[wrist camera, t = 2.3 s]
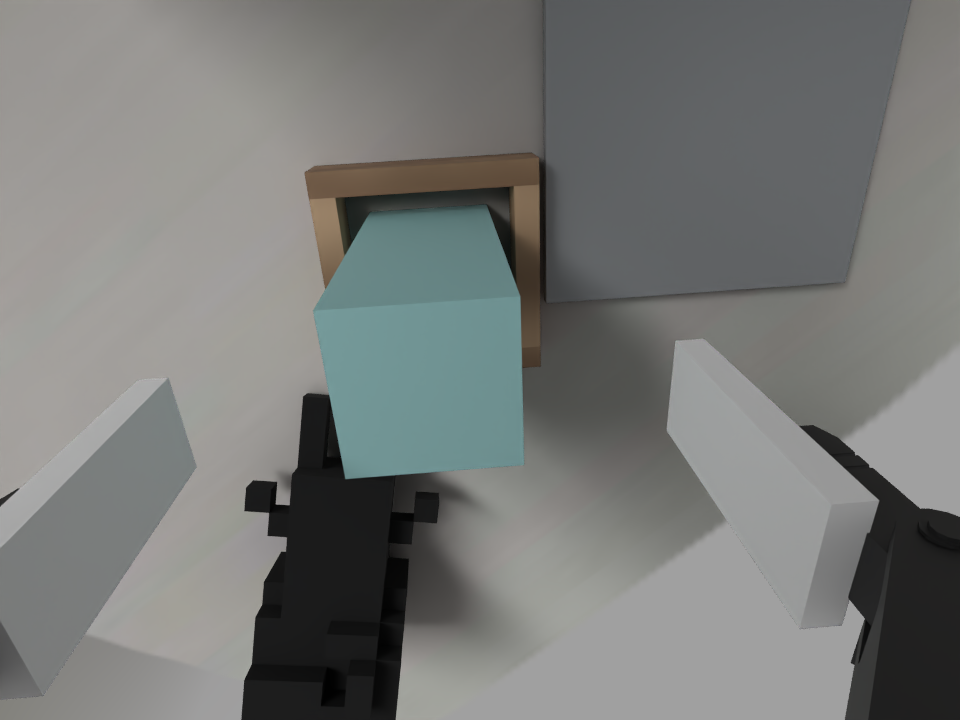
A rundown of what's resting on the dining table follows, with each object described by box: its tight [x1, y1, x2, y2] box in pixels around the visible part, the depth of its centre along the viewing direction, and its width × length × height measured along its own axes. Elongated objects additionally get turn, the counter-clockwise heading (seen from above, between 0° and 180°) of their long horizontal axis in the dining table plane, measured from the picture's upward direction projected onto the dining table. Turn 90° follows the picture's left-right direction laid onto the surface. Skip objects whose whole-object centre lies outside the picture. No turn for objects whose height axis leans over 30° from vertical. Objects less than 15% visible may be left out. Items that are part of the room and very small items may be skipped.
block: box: [313, 204, 524, 479], centre depth 20 cm, size 5×5×12 cm
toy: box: [241, 393, 439, 720], centre depth 29 cm, size 9×8×15 cm
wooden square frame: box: [305, 153, 541, 368], centre depth 25 cm, size 9×9×2 cm
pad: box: [543, 0, 911, 303], centre depth 24 cm, size 14×14×1 cm
